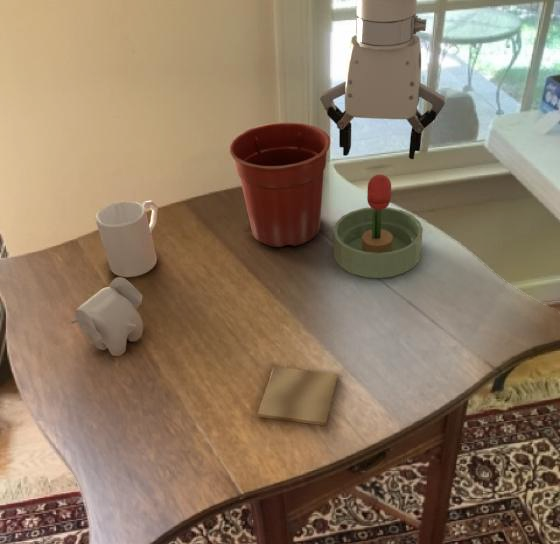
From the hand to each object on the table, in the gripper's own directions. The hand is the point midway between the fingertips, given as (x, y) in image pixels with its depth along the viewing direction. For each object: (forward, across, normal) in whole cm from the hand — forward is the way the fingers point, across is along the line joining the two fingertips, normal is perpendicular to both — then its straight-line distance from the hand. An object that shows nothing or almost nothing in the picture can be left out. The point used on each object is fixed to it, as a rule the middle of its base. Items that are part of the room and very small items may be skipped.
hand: (379, 153), depth 97 cm
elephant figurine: (+18, +36, +27) cm, 48 cm away
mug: (+18, +40, +6) cm, 44 cm away
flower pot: (+18, +17, -6) cm, 25 cm away
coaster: (+18, +6, +34) cm, 39 cm away
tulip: (+17, 0, 0) cm, 17 cm away
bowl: (+18, 0, 0) cm, 18 cm away
